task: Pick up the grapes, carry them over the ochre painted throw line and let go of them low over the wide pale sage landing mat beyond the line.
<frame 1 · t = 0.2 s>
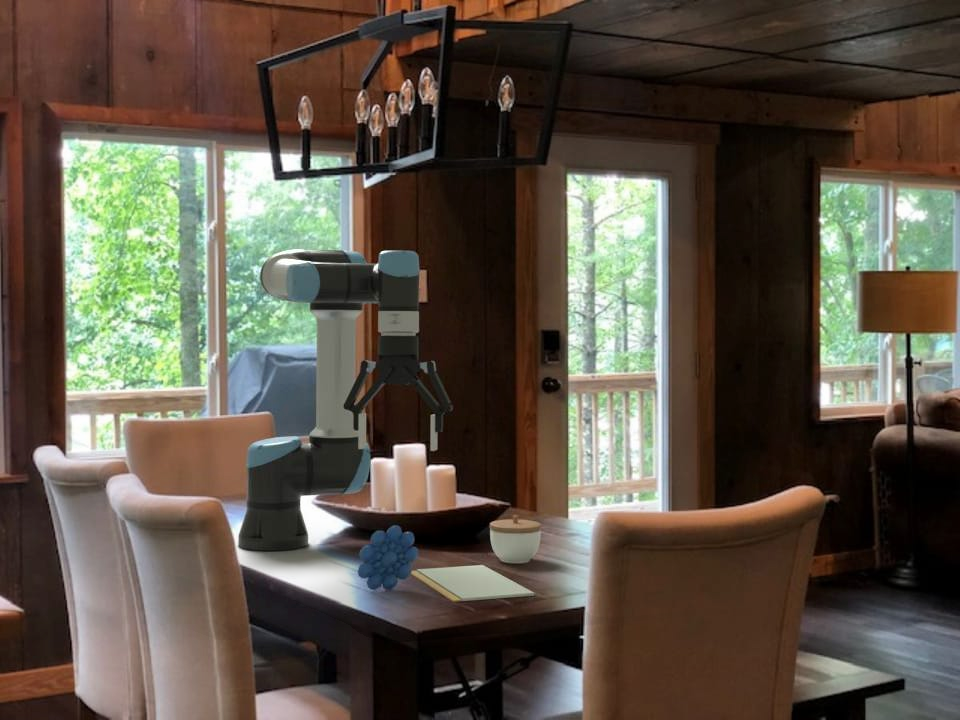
hand: (397, 449, 231), 26 cm above the table, tool pointing down, fingers open, 13 cm apart
throw line: (433, 586, 235), on the table
landing mat: (473, 583, 238), on the table
lidded jar: (515, 561, 260), on the table
grapes: (386, 590, 232), on the table
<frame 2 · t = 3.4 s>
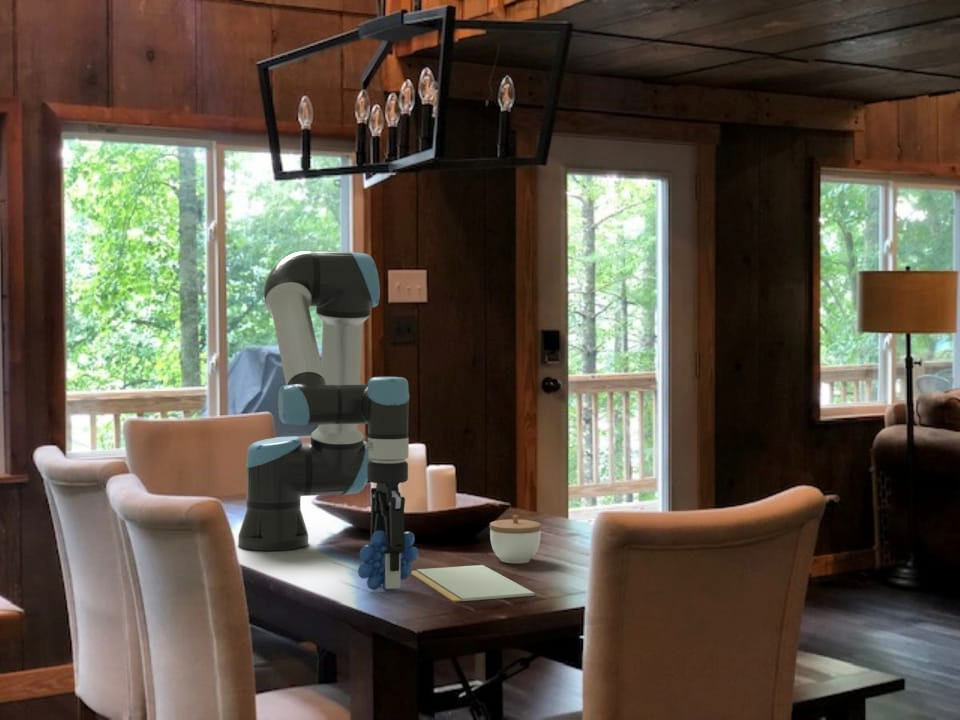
hand: (386, 583, 232), 1 cm above the table, tool pointing down, fingers closed on grapes, 7 cm apart
grapes: (386, 590, 232), on the table, touching gripper
everything else where it was.
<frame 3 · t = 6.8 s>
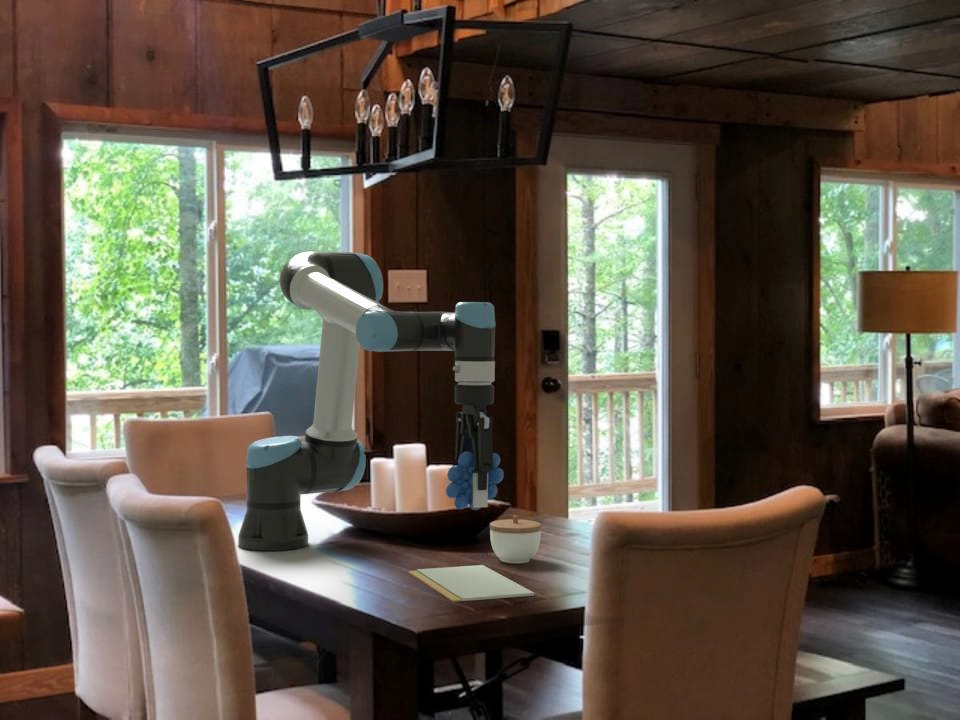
hand: (473, 503, 238), 15 cm above the table, tool pointing down, fingers closed on grapes, 7 cm apart
grapes: (473, 510, 238), point 14 cm above the table, touching gripper
everything else where it was.
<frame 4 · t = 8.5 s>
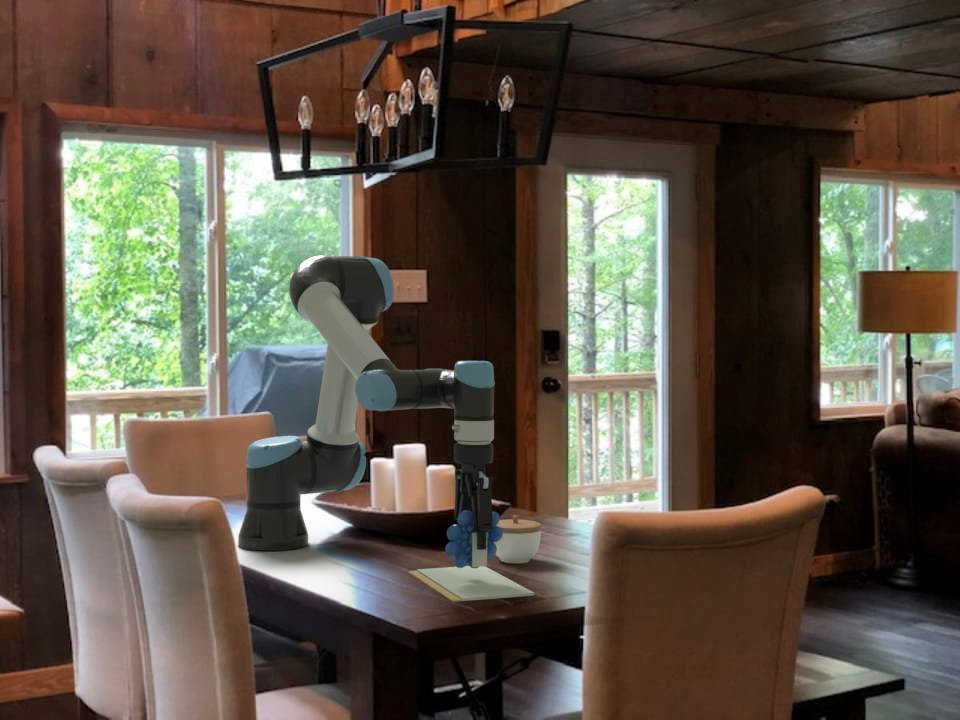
hand: (472, 562, 238), 4 cm above the table, tool pointing down, fingers closed on grapes, 7 cm apart
grapes: (472, 568, 238), point 3 cm above the table, touching gripper
everything else where it was.
when the fingers open (2 cm above the table, at t = 10.1 s): grapes stays where it is, resting on landing mat.
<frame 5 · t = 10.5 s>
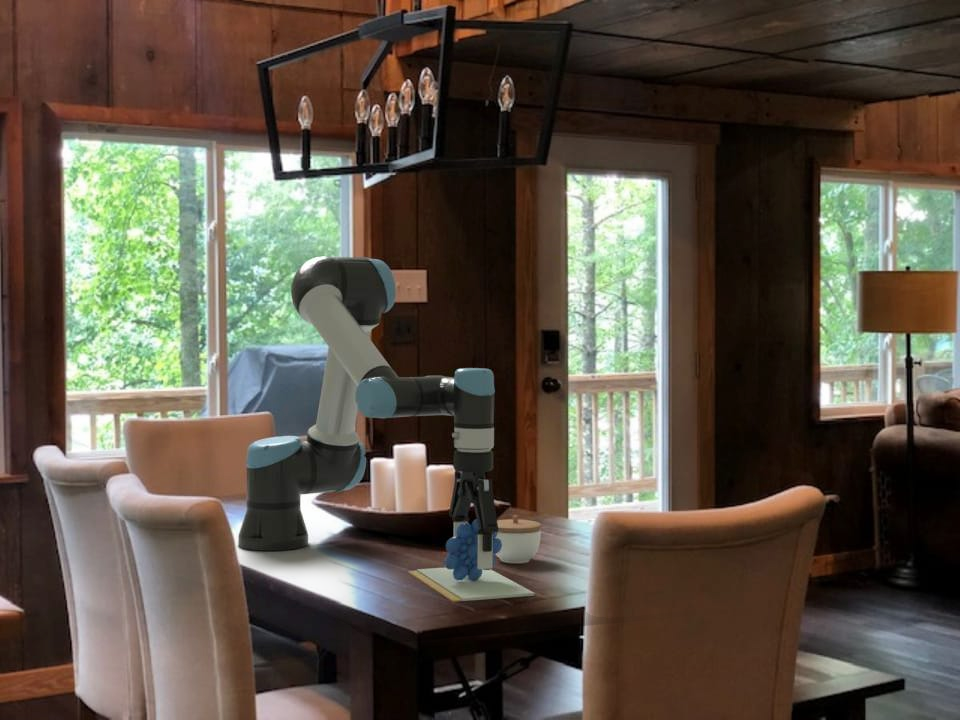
hand: (472, 561, 238), 4 cm above the table, tool pointing down, fingers open, 12 cm apart
grapes: (471, 580, 238), resting on landing mat
everything else where it was.
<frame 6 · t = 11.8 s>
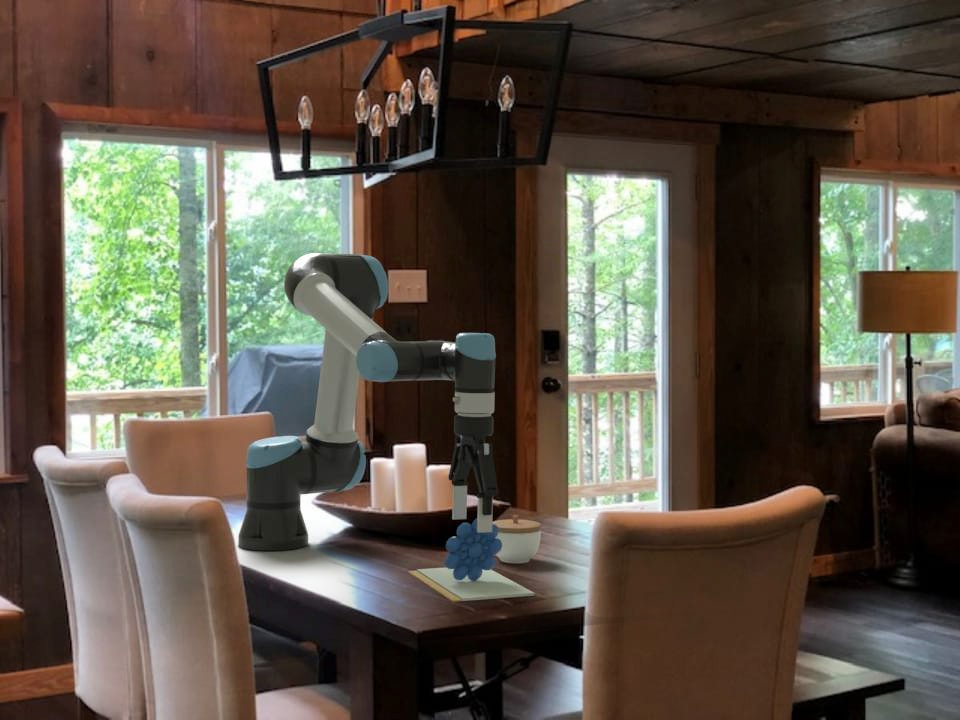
hand: (471, 525, 238), 11 cm above the table, tool pointing down, fingers open, 13 cm apart
nothing on the table moved.
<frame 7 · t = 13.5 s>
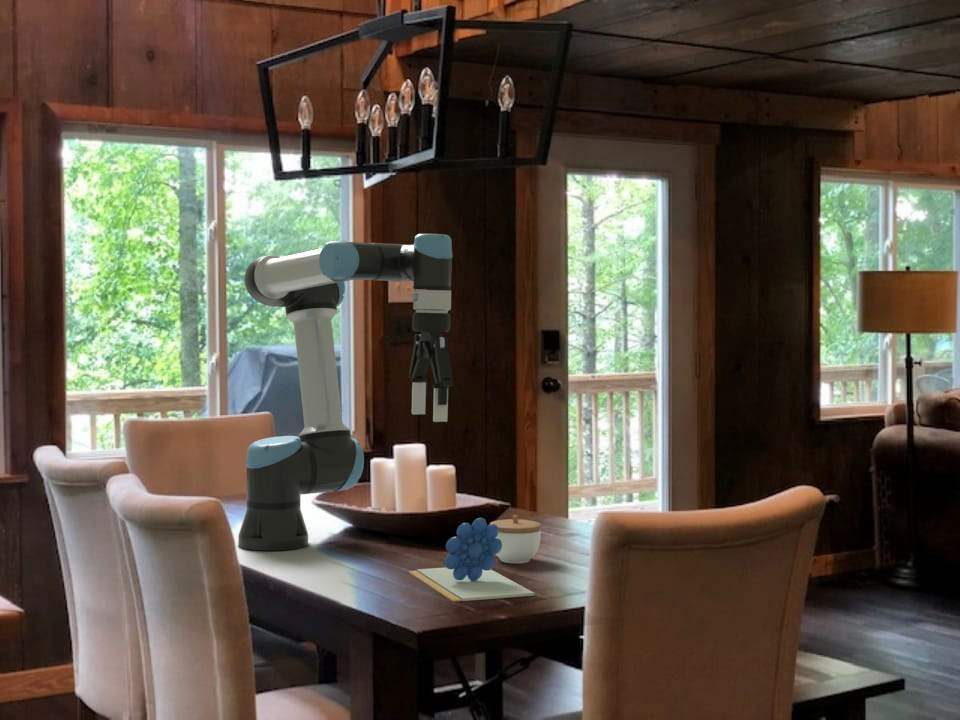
hand: (429, 417, 250), 30 cm above the table, tool pointing down, fingers open, 13 cm apart
nothing on the table moved.
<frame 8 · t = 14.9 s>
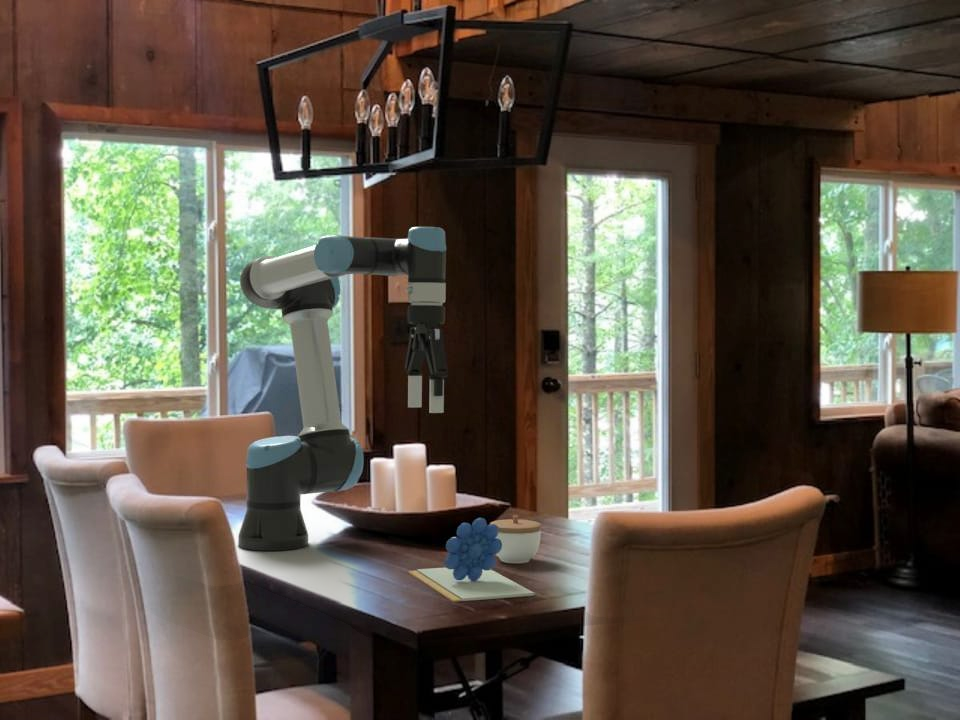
hand: (425, 410, 251), 32 cm above the table, tool pointing down, fingers open, 13 cm apart
nothing on the table moved.
at the end: grapes inside the target area (1.7 cm from its centre), resting on landing mat; the gripper is holding nothing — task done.
